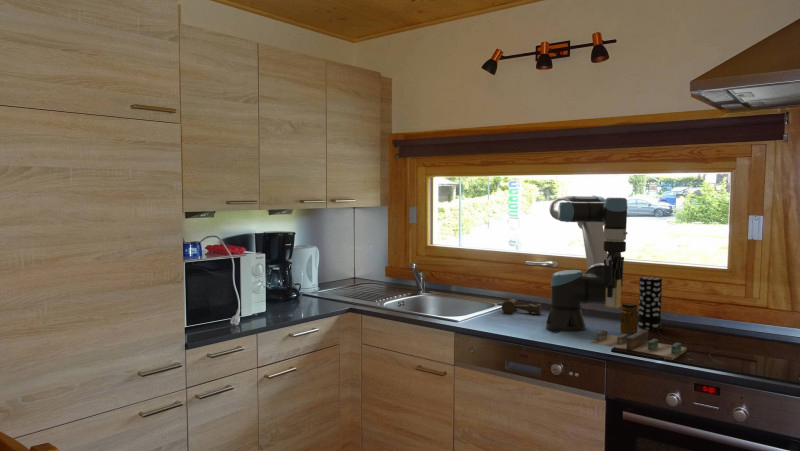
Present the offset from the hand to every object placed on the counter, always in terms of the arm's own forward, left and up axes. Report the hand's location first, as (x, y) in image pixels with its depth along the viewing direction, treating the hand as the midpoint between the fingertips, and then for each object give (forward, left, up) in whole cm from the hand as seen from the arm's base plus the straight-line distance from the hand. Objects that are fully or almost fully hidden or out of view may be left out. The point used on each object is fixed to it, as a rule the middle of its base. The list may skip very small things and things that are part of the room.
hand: (612, 304), depth 209 cm
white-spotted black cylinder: (+2, +35, -14) cm, 38 cm away
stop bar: (0, 0, -1) cm, 1 cm away
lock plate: (+9, 0, -14) cm, 17 cm away
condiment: (+1, +17, -14) cm, 22 cm away
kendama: (-52, +25, -15) cm, 59 cm away
